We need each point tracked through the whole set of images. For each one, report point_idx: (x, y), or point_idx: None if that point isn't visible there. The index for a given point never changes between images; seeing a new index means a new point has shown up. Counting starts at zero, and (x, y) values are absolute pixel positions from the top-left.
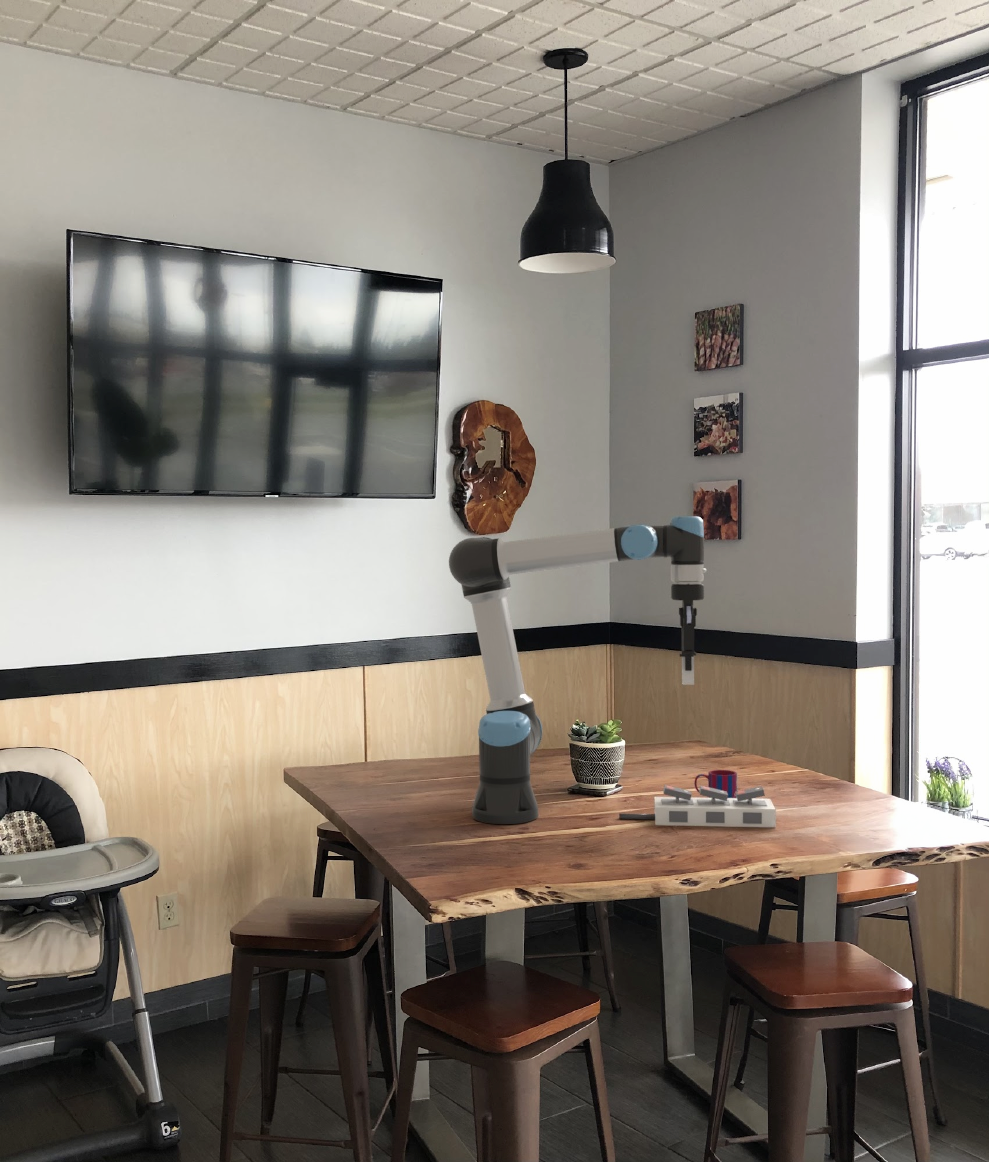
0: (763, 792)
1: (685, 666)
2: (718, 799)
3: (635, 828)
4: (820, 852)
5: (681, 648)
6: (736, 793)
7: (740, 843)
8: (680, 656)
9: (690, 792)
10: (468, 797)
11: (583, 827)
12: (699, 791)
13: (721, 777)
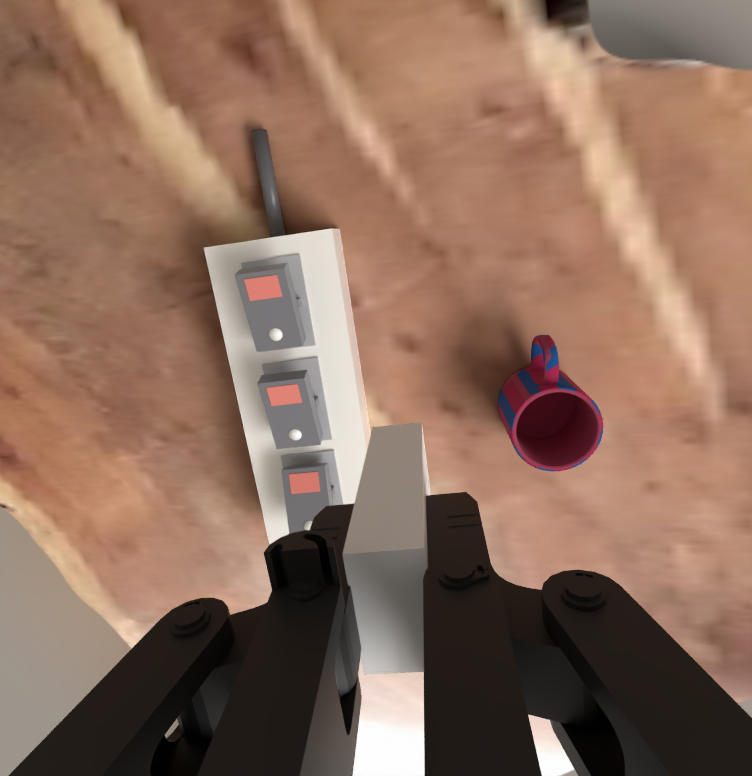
0: None
1: (311, 529)
2: (341, 413)
3: (175, 196)
4: (116, 590)
5: (583, 599)
6: (300, 470)
7: (126, 451)
8: (289, 542)
9: (280, 347)
10: None
11: (138, 39)
12: (292, 372)
13: (510, 425)
